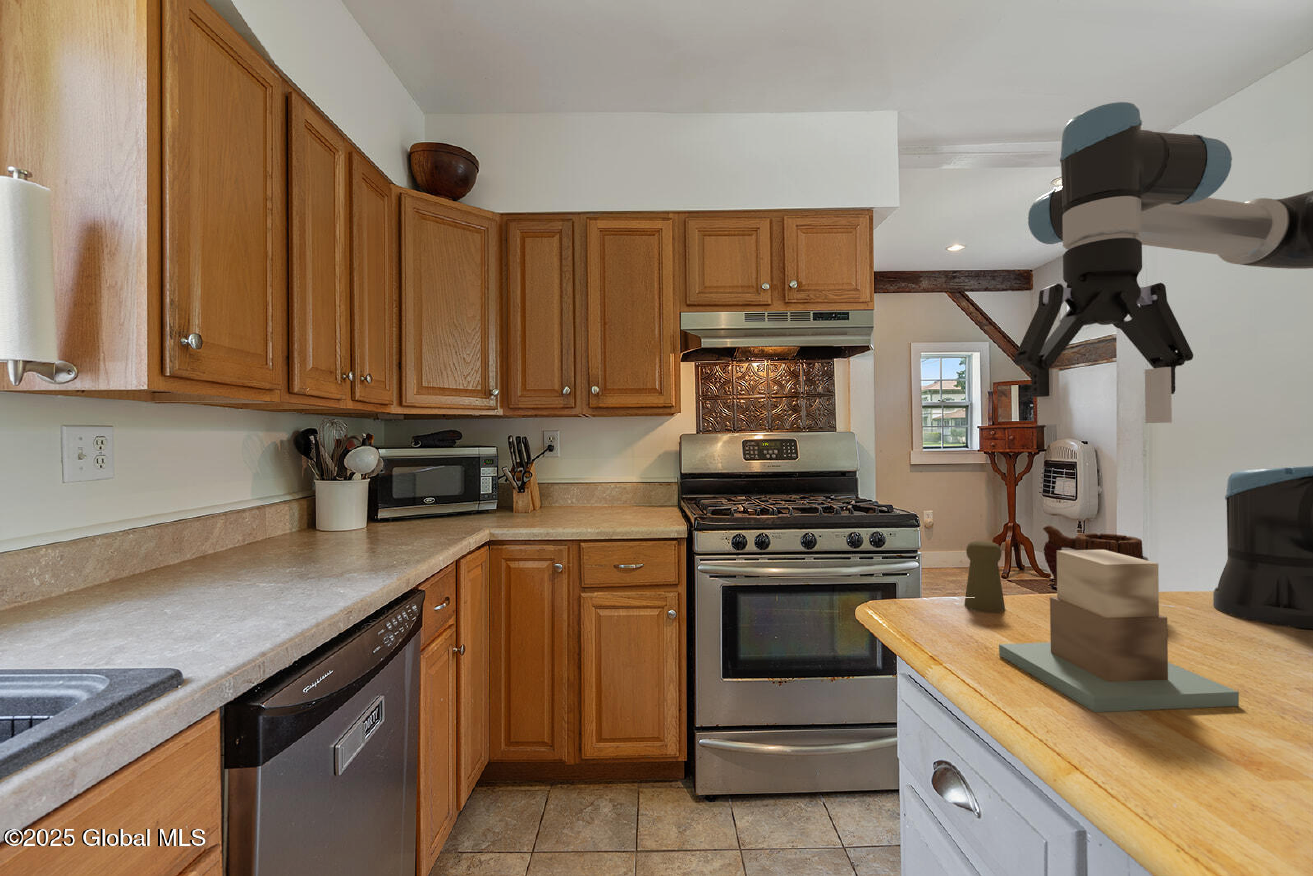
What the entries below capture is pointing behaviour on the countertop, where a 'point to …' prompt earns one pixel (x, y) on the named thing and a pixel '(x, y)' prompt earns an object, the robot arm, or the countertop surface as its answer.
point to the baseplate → (1118, 684)
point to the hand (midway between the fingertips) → (1103, 424)
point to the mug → (1089, 545)
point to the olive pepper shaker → (984, 577)
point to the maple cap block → (1108, 583)
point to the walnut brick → (1110, 643)
